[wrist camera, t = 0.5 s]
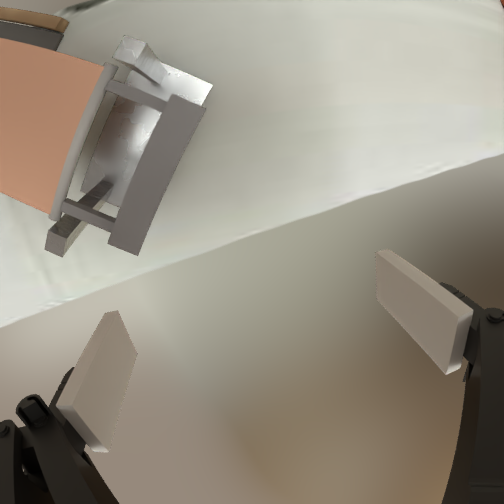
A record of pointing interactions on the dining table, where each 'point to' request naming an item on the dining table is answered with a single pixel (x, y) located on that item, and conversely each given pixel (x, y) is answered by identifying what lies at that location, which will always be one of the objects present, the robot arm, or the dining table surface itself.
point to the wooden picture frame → (33, 19)
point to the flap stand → (125, 135)
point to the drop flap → (80, 137)
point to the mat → (30, 35)
